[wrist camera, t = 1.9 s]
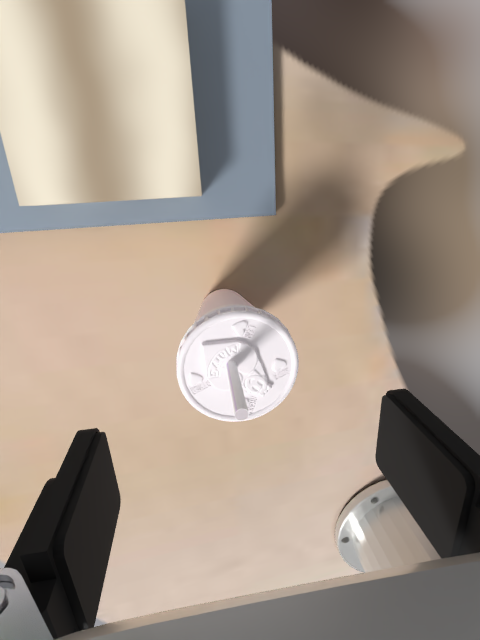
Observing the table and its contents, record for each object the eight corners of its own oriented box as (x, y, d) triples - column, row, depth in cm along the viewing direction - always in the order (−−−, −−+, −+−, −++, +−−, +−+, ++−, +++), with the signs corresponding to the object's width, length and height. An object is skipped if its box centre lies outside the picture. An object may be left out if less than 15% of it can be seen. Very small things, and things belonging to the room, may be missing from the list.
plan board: (267, -17, 20) (271, -27, 19) (272, 214, 25) (275, 214, 24) (-103, -18, 18) (-119, -29, 17) (-26, 233, 23) (-35, 235, 22)
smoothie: (218, 253, 25) (244, 311, 12) (281, 306, 27) (363, 406, 14) (164, 318, 26) (134, 438, 13) (228, 364, 28) (258, 509, 15)
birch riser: (184, 7, 19) (182, -26, 16) (201, 196, 23) (201, 195, 20) (-5, 7, 18) (-42, -28, 15) (42, 205, 22) (19, 206, 19)
